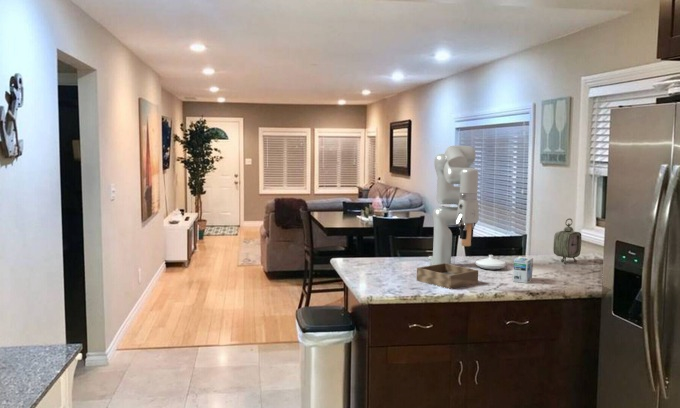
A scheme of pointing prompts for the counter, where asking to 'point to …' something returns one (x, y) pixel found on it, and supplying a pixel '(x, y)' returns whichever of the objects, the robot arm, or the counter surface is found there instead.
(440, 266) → the bore box
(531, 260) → the light bulb box
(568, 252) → the tabletop clock
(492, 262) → the vase
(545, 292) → the counter surface
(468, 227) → the peg
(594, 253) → the counter surface
